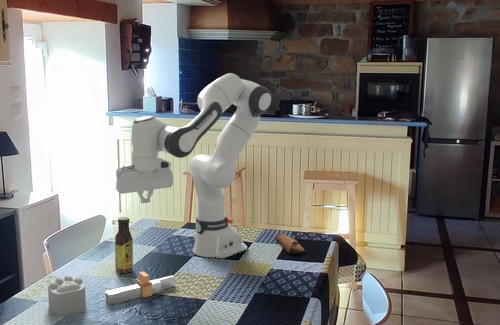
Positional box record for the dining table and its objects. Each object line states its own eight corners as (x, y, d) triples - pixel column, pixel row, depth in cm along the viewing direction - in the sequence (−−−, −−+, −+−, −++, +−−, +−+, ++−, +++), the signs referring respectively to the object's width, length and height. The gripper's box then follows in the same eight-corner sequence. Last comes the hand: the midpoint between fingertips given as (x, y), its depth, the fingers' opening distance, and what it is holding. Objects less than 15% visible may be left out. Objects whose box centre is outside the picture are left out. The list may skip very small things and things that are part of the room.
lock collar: (144, 289, 182) (144, 270, 180) (152, 295, 177) (151, 275, 176) (136, 291, 180) (136, 272, 178) (143, 297, 176) (143, 277, 174)
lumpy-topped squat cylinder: (53, 318, 162) (52, 291, 160) (45, 300, 172) (44, 275, 171) (88, 310, 167) (87, 284, 165) (78, 294, 178) (77, 269, 176)
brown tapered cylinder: (308, 253, 219) (301, 240, 217) (294, 263, 218) (287, 250, 216) (293, 238, 236) (286, 226, 234) (279, 247, 235) (272, 235, 233)
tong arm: (159, 290, 182) (159, 280, 181) (160, 291, 181) (160, 281, 180) (107, 303, 171) (107, 293, 170) (109, 305, 170) (108, 294, 169)
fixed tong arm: (172, 285, 186) (172, 275, 186) (174, 286, 185) (174, 276, 185) (105, 302, 172) (105, 291, 172) (107, 303, 171) (107, 292, 171)
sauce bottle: (128, 275, 194) (127, 222, 190) (112, 273, 195) (111, 220, 191) (136, 268, 200) (135, 216, 196) (120, 266, 201) (119, 215, 197)
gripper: (119, 168, 177) (120, 208, 180) (175, 162, 189) (175, 200, 192) (112, 164, 182) (113, 204, 185) (166, 159, 194) (167, 196, 197)
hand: (145, 202), depth 189 cm, fingers closed
